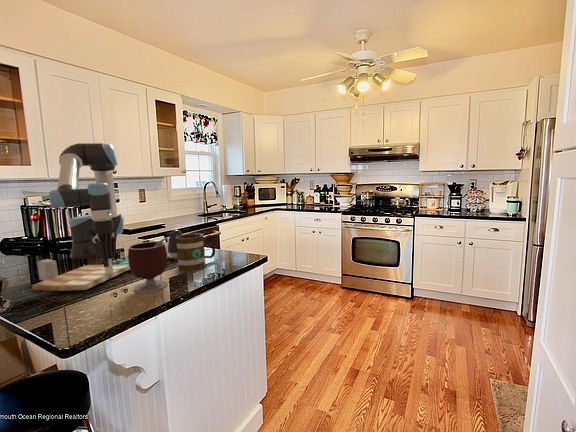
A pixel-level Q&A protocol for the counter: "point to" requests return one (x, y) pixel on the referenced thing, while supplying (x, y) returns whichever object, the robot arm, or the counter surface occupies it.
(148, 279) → the mate gourd
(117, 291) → the counter surface
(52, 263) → the medicine box
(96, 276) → the ash plank
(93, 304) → the counter surface
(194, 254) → the mug
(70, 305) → the counter surface
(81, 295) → the counter surface
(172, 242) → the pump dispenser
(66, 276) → the oak board
